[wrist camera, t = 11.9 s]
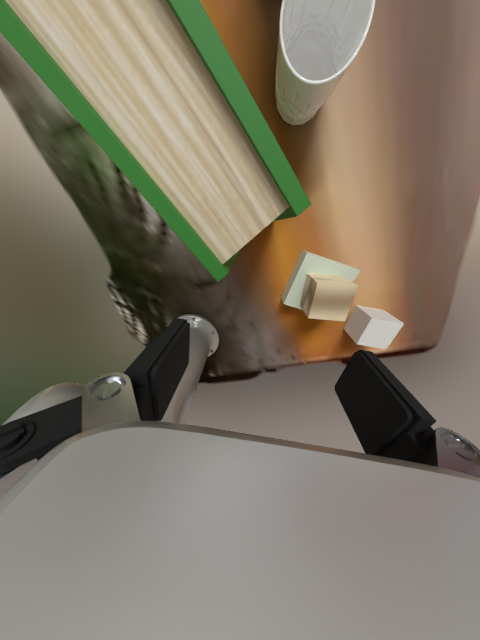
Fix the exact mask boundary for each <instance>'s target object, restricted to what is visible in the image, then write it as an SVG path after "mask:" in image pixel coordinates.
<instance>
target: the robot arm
mask: <svg viewBox="0 0 480 640" xmlns="http://www.w3.org/2000/svg"><path fill="white" fill-rule="evenodd" d="M218 345H219V334H218V331H217V329H216V327H215V326H214V325H213V324H212V323H211V322H210V321H209V320H208V319H206V318H204V317H202V316H199V315H195V314H185V315H181V316H179V317H177V318H175V319H174V320H173V321H172V323H171V324H170V325H169V326H168V327H167V328H166V330H165V331H164V332H163V333H162V334H161V336H160V337H159V338H155V339H153V340H152V341H151V343H150V344H149V345H148V346H147V347H146V348H145V349H144V351H143V352H142V353H141V354H140V355H139V356H138V357H137V358H136V360H135V361H134V362H133V363H132V364H131V365H130V366H129V367H128V369H127V370H126V371H125V372H124V373H109V374H105V375H102V376H99V377H98V378H96V379H94V380H92V381H91V382H90V383H89V384H88V385H87V386H86V387H85V386H83V385H79V384H76V383H62V384H58V385H54V386H52V387H49V388H48V389H45V390H44V391H42V392H40V393H39V394H37V395H36V396H35V397H33V398H32V399H30V400H29V401H28V402H27V403H25V404H24V405H23V406H22V407H21V408H20V409H18V410H17V411H16V412H15V413H14V414H13V415H12V416H11V417H10V418H9V419H8V420H7V421H6V422H5V423H4V424H3V425H2V426H0V640H480V450H479V449H478V448H477V447H476V446H475V445H474V444H472V443H471V442H470V441H468V440H467V439H466V438H464V437H463V436H461V435H459V434H458V433H456V432H454V431H452V430H449V429H446V428H441V427H439V428H437V429H435V430H433V429H432V428H431V425H433V424H434V423H435V422H436V420H435V419H434V418H433V417H432V416H431V415H430V414H429V413H428V411H426V409H425V408H424V407H423V406H422V405H421V404H420V403H419V402H418V401H417V400H416V399H415V397H414V396H413V395H412V394H411V393H410V392H409V391H408V390H407V389H406V388H405V387H404V386H403V385H402V384H401V382H400V381H399V380H398V379H397V378H396V377H395V376H394V375H393V374H392V373H391V372H390V370H389V369H387V367H386V366H385V365H384V364H383V363H382V362H381V361H380V360H379V359H378V358H377V356H376V355H375V354H374V353H373V352H370V351H365V350H358V351H357V352H355V353H354V354H353V356H352V357H351V359H350V361H349V363H348V364H347V366H346V368H345V370H344V371H343V373H342V374H341V376H340V378H339V380H338V381H337V383H336V385H335V391H336V393H337V395H338V398H339V400H340V402H341V404H342V406H343V408H344V410H345V412H346V414H347V416H348V418H349V420H350V422H351V424H352V426H353V429H354V431H355V432H356V435H357V437H358V439H359V441H360V443H361V445H362V447H363V449H364V451H365V453H366V454H363V453H358V452H352V451H346V450H341V449H334V448H329V447H323V446H317V445H311V444H305V443H299V442H293V441H286V440H281V439H275V438H269V437H263V436H257V435H250V434H244V433H238V432H232V431H226V430H220V429H213V428H206V427H199V426H193V425H186V424H184V423H185V420H186V416H187V413H188V410H189V407H190V404H191V401H192V399H193V395H194V393H195V390H196V388H197V385H198V382H199V379H200V376H201V374H202V371H203V368H204V365H205V362H206V360H207V357H208V356H210V355H212V354H213V353H214V352H215V351H216V349H217V347H218Z"/></svg>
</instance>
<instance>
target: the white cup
mask: <svg viewBox="0 0 480 640" xmlns="http://www.w3.org/2000/svg"><path fill="white" fill-rule="evenodd" d="M374 5H375V0H283V1H282V6H281V12H280V24H279V37H278V49H277V61H276V87H275V98H276V106H277V110H278V112H279V114H280V115H281V117H282V119H283V120H284V121H286V122H287V123H289V124H290V125H303V124H304V123H306V122H307V121H309V120H310V119H312V118H313V117H314V116H315V114H316V113H317V111H318V110H319V108H320V107H321V106H322V105H323V104H324V102H325V101H326V100H327V98H328V97H329V96H330V94H331V93H332V91H333V90H334V88H335V87H336V85H337V84H338V82H339V81H340V79H341V78H342V76H343V75H344V73H345V72H346V70H347V69H348V67H349V66H350V64H351V63H352V61H353V60H354V58H355V57H356V55H357V54H358V52H359V50H360V48H361V46H362V44H363V42H364V40H365V38H366V35H367V33H368V30H369V27H370V23H371V20H372V16H373V11H374Z"/></svg>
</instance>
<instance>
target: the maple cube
mask: <svg viewBox="0 0 480 640" xmlns="http://www.w3.org/2000/svg"><path fill="white" fill-rule="evenodd" d="M357 289H358V285H356V284H355V283H353V282H351V281H349V280H348V279H346V278H344V277H343V276H339V275H325V274H311V273H307V276H306V280H305V284H304V289H303V293H302V297H301V302H300V305H301V307H302V309H303V310H304V312H305V314H306V316H307V317H308V318H310V319H323V320H335V321H345V320H346V317H347V315H348V312H349V309H350V307H351V304H352V302H353V299H354V296H355V294H356V291H357Z"/></svg>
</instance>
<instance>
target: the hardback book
mask: <svg viewBox="0 0 480 640" xmlns="http://www.w3.org/2000/svg"><path fill="white" fill-rule="evenodd" d="M0 32H1V33H2V34H3V35H4V37H5V38H6V39H7V40H8V41H9V42H10V44H11V45H12V46H13V47H14V48H15V49H16V50H17V52H18V53H19V54H20V55H21V56H22V57H23V58H24V60H25V61H26V62H27V63H28V64H29V65H30V67H31V68H32V69H33V70H34V71H35V72H36V73H37V75H38V76H39V77H40V78H41V79H42V80H43V81H44V83H45V84H46V85H47V86H48V87H49V88H50V90H51V91H52V92H53V93H54V94H55V95H56V96H57V98H58V99H59V100H60V101H61V102H62V103H63V104H64V106H65V107H66V108H67V109H68V110H69V111H70V113H71V114H72V115H73V116H74V117H75V118H76V119H77V121H78V122H79V123H80V124H81V125H82V126H83V127H84V129H85V130H86V131H87V132H88V133H89V134H90V136H91V137H92V138H93V139H94V140H95V141H96V142H97V144H98V145H99V146H100V147H101V148H102V149H103V150H104V152H105V153H106V154H107V155H108V156H109V157H110V159H111V160H112V161H113V162H114V163H115V164H116V165H117V167H118V168H119V169H120V170H121V171H122V172H123V173H124V175H125V176H126V177H127V178H128V179H129V180H130V182H131V183H132V184H133V185H134V186H135V187H136V188H137V190H138V191H139V192H140V193H141V194H142V195H143V196H144V198H145V199H146V200H147V201H148V202H149V203H150V205H151V206H152V207H153V208H154V209H155V210H156V211H157V213H158V214H159V215H160V216H161V217H162V218H163V219H164V221H165V222H166V223H167V224H168V225H169V226H170V228H171V229H172V230H173V231H174V232H175V233H176V234H177V236H178V237H179V238H180V239H181V240H182V241H183V242H184V244H185V245H186V246H187V247H188V248H189V249H190V251H191V252H192V253H193V254H194V255H195V256H196V257H197V259H198V260H199V261H200V262H201V263H202V264H203V265H204V267H205V268H206V269H207V270H208V271H209V272H210V274H211V275H212V276H213V277H214V278H215V279H216V280H217V282H219V281H220V280H221V279H222V278H224V277H225V276H226V275H227V274H228V273H229V271H230V269H231V267H232V265H233V263H234V262H235V260H236V258H237V256H238V254H239V253H240V251H241V249H242V247H243V246H245V245H246V244H247V243H248V242H249V241H250V240H252V239H253V238H254V237H255V236H256V235H257V234H258V233H260V232H261V231H262V230H263V229H264V228H265V227H266V226H268V225H269V224H270V223H271V222H272V221H276V220H281V219H286V218H290V217H295V216H298V215H299V214H300V213H302V212H303V211H304V210H305V209H306V208H308V207H309V206H310V205H311V202H310V201H309V199H308V197H307V195H306V193H305V191H304V190H303V188H302V186H301V184H300V182H299V181H298V179H297V177H296V175H295V173H294V171H293V170H292V168H291V166H290V164H289V162H288V161H287V159H286V157H285V155H284V153H283V151H282V150H281V148H280V146H279V144H278V142H277V140H276V139H275V137H274V135H273V133H272V131H271V130H270V128H269V126H268V124H267V122H266V120H265V119H264V117H263V115H262V113H261V111H260V110H259V108H258V106H257V104H256V102H255V100H254V99H253V97H252V95H251V93H250V91H249V90H248V88H247V86H246V84H245V82H244V80H243V79H242V77H241V75H240V73H239V71H238V70H237V68H236V66H235V64H234V62H233V60H232V59H231V57H230V55H229V53H228V51H227V50H226V48H225V46H224V44H223V42H222V40H221V39H220V37H219V35H218V33H217V31H216V30H215V28H214V26H213V24H212V22H211V20H210V19H209V17H208V15H207V13H206V11H205V10H204V8H203V6H202V4H201V2H200V0H0Z"/></svg>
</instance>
